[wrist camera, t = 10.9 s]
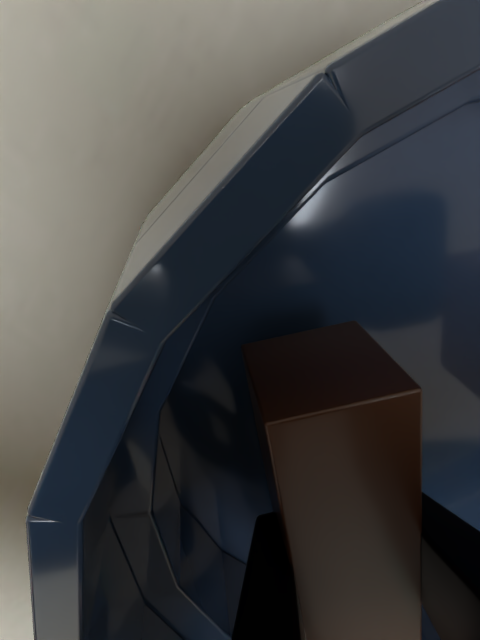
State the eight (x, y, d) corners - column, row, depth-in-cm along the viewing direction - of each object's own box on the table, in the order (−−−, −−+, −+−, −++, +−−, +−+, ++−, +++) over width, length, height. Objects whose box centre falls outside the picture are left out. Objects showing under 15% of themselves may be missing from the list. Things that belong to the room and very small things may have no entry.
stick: (372, 568, 11) (422, 678, 8) (288, 589, 11) (316, 706, 8) (355, 318, 8) (424, 388, 6) (240, 343, 8) (263, 424, 6)
